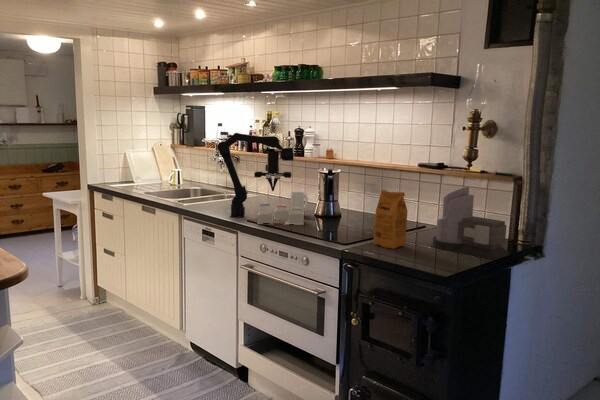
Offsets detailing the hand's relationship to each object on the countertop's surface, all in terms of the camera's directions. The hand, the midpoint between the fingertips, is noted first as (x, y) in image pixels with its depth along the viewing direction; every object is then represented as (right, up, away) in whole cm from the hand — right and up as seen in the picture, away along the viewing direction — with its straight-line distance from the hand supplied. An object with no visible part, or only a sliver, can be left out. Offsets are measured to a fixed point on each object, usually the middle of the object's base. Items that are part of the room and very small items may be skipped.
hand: (272, 191), depth 265 cm
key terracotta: (+5, -13, -6) cm, 15 cm away
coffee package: (+49, -23, -60) cm, 81 cm away
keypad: (+5, -15, -11) cm, 19 cm away
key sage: (+12, -14, -15) cm, 24 cm away
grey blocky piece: (+78, -24, -64) cm, 104 cm away
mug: (+14, -13, +7) cm, 20 cm away
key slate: (-3, -12, -17) cm, 21 cm away
